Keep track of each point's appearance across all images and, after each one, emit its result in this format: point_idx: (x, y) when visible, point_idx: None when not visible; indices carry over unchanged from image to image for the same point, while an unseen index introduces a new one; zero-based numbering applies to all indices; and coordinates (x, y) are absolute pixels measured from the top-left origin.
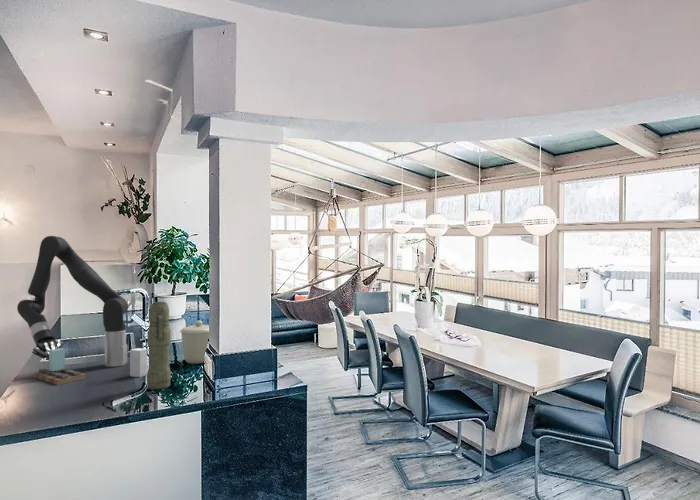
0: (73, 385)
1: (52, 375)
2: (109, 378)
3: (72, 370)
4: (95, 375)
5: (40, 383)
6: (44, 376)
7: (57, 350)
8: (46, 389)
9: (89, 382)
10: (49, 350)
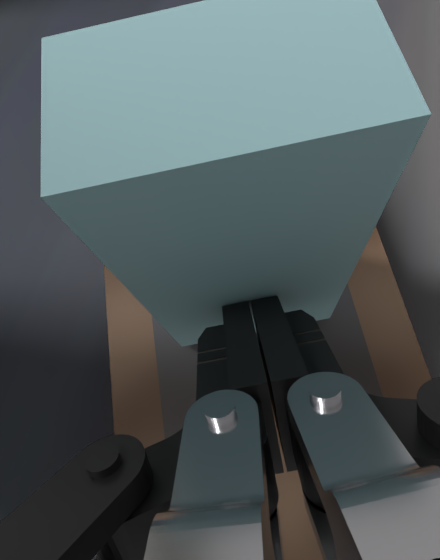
0: None
1: None
2: (16, 22)
3: (106, 276)
4: (22, 143)
5: (409, 194)
6: (380, 245)
7: (228, 5)
8: (384, 16)
9: (133, 11)
10: (418, 102)
